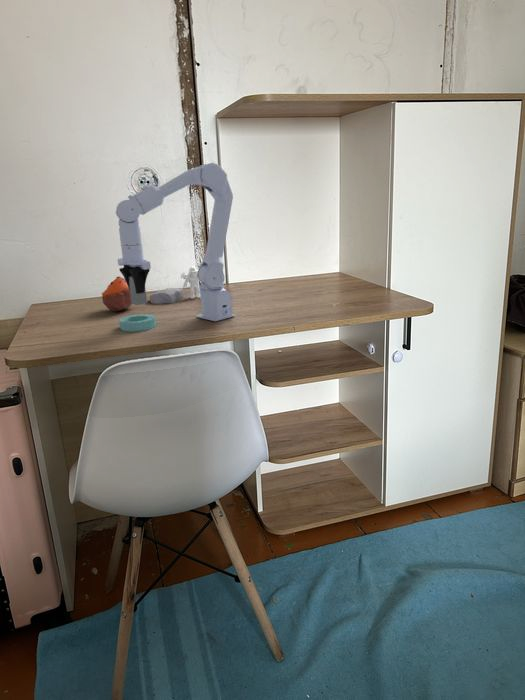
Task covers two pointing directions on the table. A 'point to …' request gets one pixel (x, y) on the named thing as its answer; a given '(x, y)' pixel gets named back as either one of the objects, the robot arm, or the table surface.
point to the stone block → (167, 296)
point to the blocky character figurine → (192, 281)
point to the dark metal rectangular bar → (135, 297)
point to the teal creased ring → (137, 322)
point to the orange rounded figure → (117, 295)
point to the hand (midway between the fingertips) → (137, 292)
